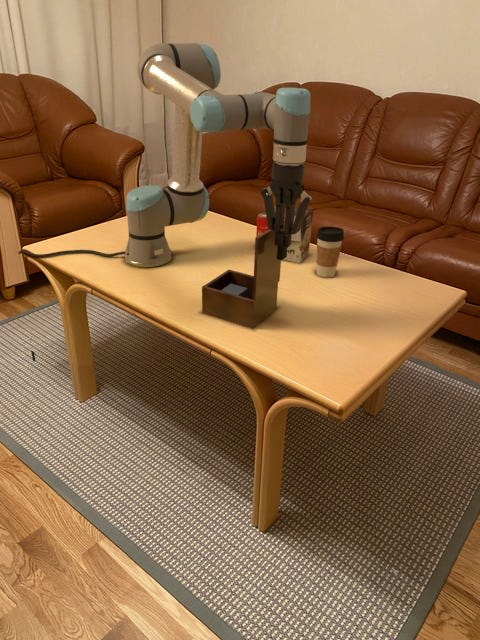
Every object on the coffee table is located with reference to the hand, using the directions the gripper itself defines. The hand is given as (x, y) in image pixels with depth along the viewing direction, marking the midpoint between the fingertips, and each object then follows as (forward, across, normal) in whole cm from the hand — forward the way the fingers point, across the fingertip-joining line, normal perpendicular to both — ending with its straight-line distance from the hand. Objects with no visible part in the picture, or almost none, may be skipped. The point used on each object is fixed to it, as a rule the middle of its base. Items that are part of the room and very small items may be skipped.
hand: (281, 258), depth 131 cm
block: (+17, -14, 0) cm, 22 cm away
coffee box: (+19, -15, +44) cm, 50 cm away
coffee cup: (+19, -1, +36) cm, 41 cm away
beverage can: (+19, -28, +45) cm, 56 cm away
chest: (+18, -12, 0) cm, 22 cm away
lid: (+2, -4, 0) cm, 4 cm away
